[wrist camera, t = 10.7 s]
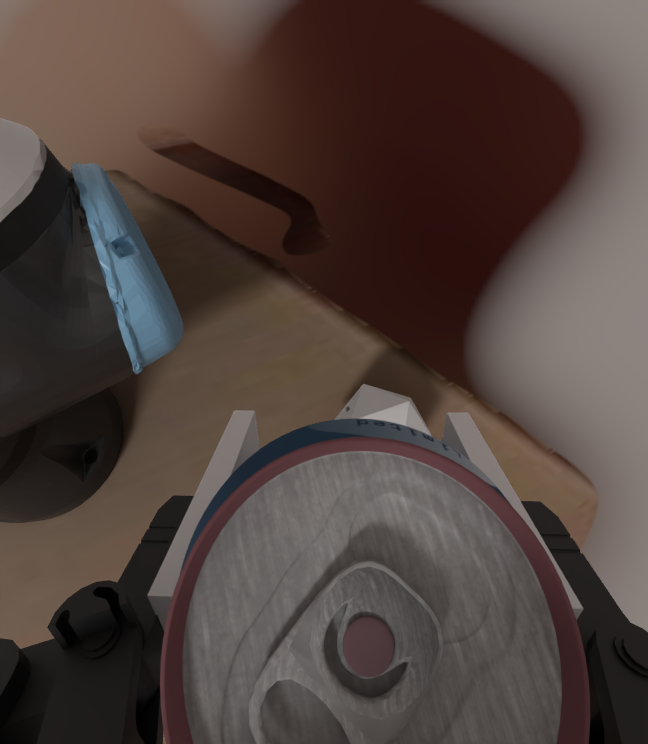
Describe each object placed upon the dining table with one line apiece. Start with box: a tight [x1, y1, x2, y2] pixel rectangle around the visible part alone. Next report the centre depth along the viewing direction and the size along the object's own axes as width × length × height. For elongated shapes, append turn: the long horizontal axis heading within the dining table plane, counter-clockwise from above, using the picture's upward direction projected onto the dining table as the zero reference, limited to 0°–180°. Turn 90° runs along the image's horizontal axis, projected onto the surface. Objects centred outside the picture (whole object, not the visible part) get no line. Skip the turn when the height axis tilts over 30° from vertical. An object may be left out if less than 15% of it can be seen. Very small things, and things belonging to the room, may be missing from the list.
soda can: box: [160, 418, 590, 744], centre depth 10 cm, size 7×7×12 cm
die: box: [334, 384, 432, 436], centre depth 31 cm, size 8×9×10 cm
